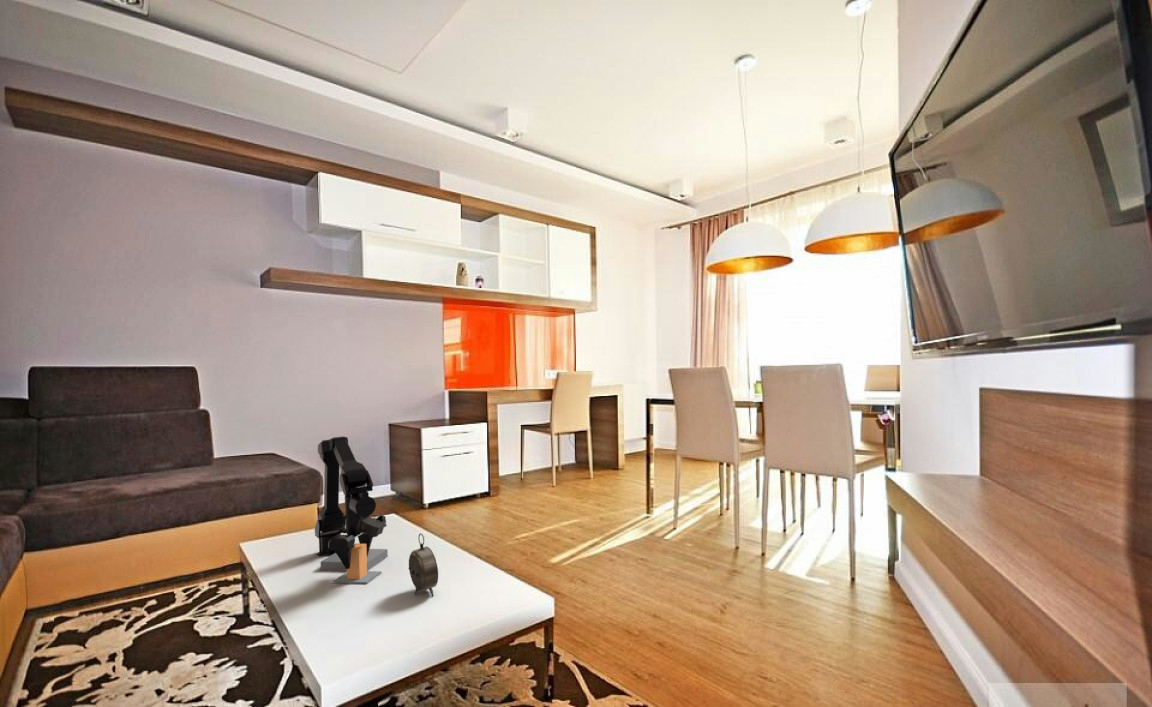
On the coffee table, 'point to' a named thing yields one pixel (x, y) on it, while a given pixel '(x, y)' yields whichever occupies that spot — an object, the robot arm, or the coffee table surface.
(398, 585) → the coffee table surface
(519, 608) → the coffee table surface
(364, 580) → the mat
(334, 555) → the holder
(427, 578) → the alarm clock
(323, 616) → the coffee table surface
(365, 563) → the orange block
